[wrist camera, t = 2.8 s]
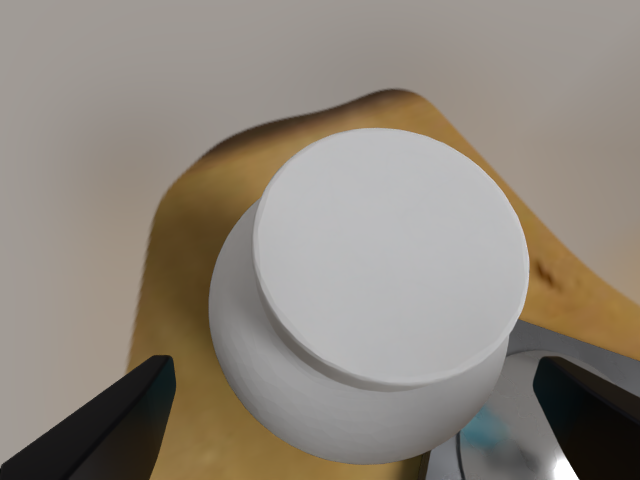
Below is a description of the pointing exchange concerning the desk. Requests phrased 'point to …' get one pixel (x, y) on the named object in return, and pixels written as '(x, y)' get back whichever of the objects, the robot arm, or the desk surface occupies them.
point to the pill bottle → (369, 296)
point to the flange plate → (522, 414)
